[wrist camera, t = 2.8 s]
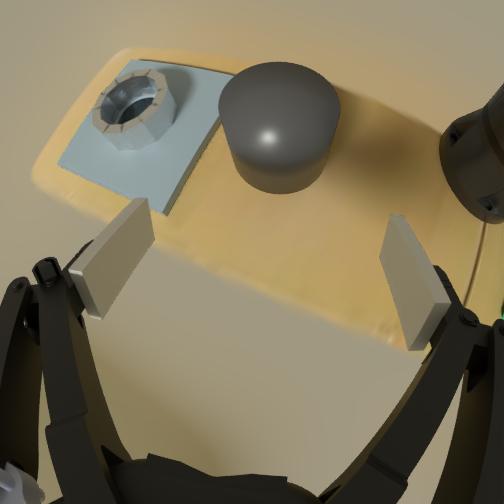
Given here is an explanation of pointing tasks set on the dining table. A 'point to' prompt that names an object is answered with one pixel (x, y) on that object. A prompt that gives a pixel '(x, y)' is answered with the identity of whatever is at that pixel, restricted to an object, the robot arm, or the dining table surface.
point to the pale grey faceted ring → (135, 110)
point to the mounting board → (161, 152)
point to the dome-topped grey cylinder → (279, 125)
